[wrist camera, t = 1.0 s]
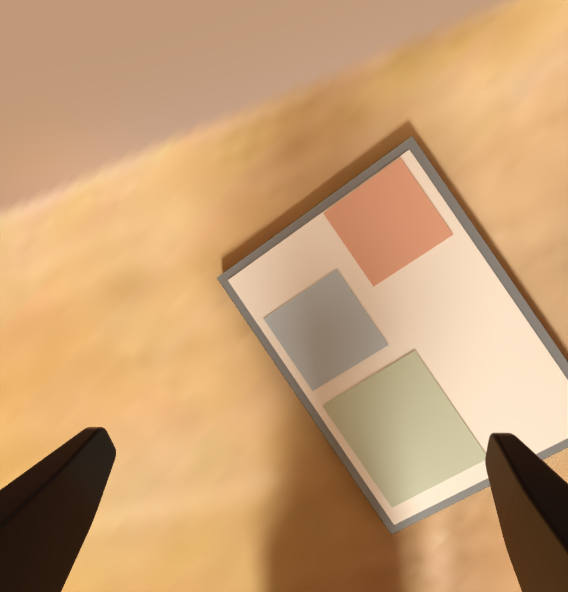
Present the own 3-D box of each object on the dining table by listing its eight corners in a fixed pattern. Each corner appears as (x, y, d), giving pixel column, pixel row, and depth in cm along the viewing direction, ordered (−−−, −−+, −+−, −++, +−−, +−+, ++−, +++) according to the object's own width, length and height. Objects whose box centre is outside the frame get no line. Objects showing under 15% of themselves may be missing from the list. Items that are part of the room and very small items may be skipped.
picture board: (601, 419, 20) (614, 427, 19) (389, 525, 23) (391, 537, 22) (409, 140, 20) (412, 134, 19) (221, 277, 23) (215, 278, 22)
